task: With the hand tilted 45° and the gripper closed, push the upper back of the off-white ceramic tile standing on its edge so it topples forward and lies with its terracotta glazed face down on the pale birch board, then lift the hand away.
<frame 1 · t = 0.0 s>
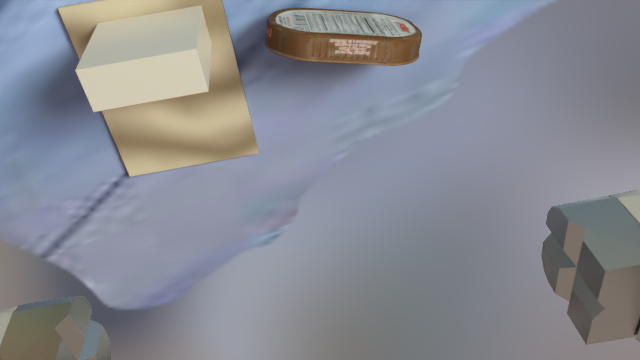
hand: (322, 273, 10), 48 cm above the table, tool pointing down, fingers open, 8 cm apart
tin: (337, 18, 58), on the table
board: (169, 86, 59), on the table
tile: (155, 34, 55), resting on board
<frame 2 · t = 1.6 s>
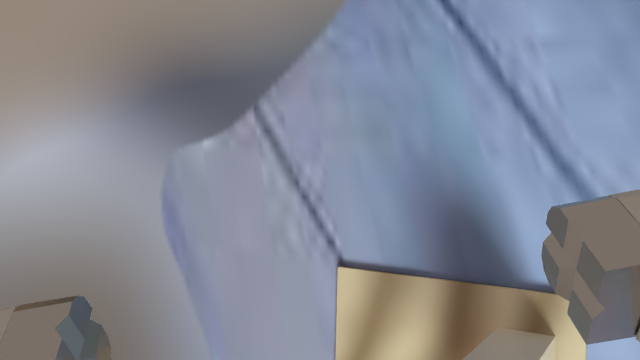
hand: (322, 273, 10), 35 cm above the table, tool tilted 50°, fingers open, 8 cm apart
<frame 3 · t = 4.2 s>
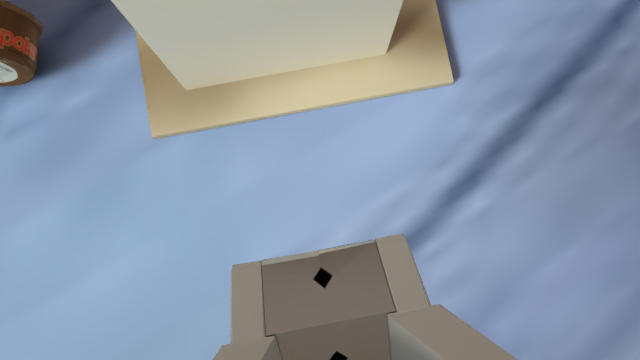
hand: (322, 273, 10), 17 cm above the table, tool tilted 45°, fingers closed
tile: (279, 33, 28), resting on board
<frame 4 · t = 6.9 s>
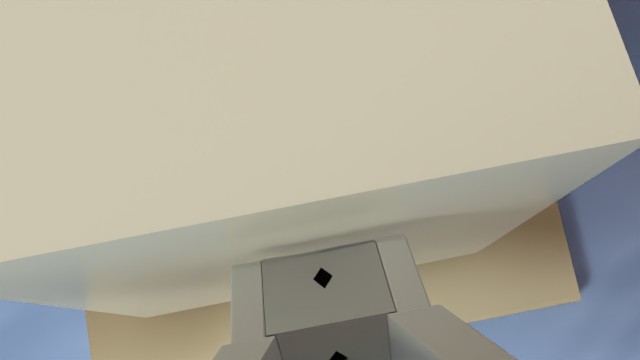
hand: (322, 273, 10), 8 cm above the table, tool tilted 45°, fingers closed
board: (282, 43, 19), on the table
tile: (300, 220, 17), point 1 cm above the table, tilted 9°, touching board, gripper
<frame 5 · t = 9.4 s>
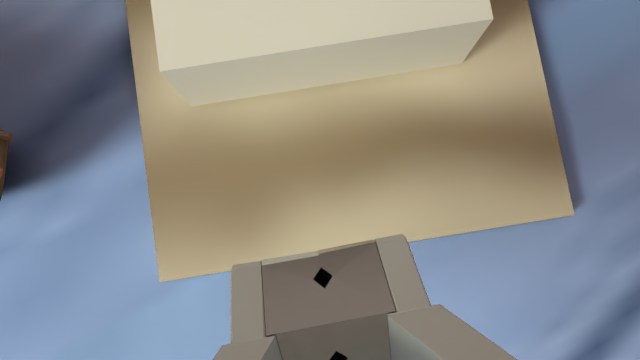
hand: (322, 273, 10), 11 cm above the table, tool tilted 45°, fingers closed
tile: (326, 67, 19), point 3 cm above the table, tilted 90°, touching board
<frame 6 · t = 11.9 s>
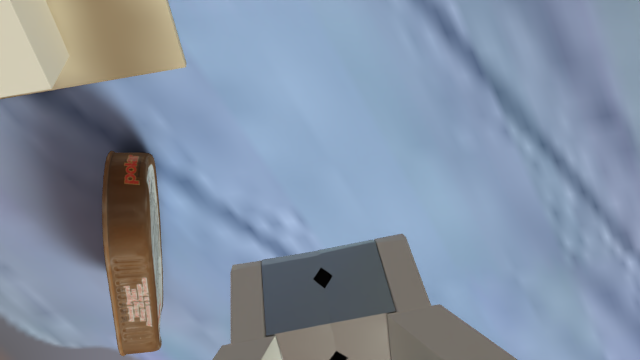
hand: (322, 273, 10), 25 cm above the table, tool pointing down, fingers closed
tin: (145, 214, 41), on the table
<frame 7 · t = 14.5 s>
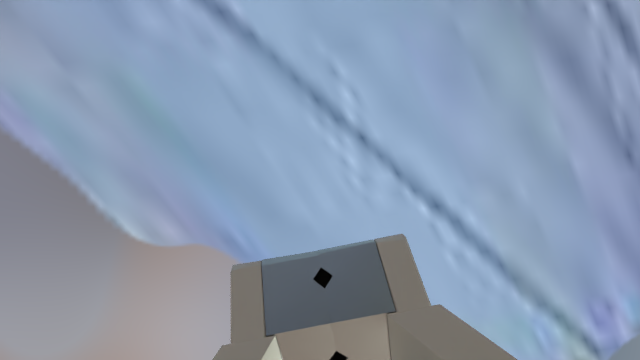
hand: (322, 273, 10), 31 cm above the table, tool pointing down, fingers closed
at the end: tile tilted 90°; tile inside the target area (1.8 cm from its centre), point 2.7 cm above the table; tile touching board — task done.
